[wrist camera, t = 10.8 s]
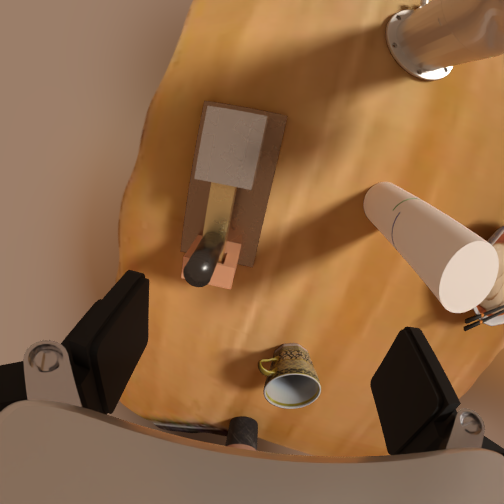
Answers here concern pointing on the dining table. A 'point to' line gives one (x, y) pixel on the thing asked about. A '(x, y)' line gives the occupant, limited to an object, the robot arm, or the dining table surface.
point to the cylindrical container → (434, 246)
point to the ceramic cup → (290, 378)
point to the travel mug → (242, 433)
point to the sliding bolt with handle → (212, 236)
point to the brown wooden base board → (234, 171)
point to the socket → (219, 264)
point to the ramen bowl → (492, 290)
